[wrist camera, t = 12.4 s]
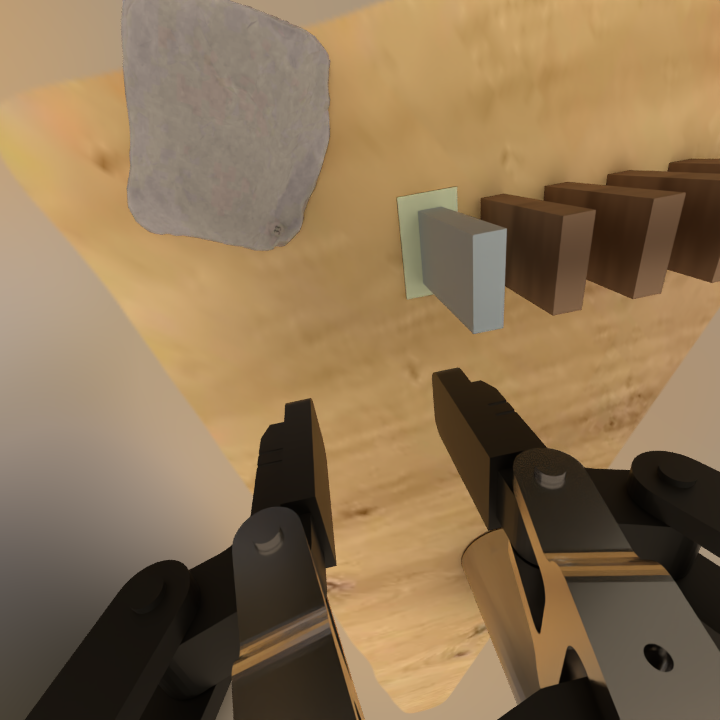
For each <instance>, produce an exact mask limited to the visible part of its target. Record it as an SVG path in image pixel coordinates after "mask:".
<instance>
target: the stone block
mask: <svg viewBox="0 0 720 720" xmlns="http://www.w3.org/2000/svg"><path fill="white" fill-rule="evenodd" d="M121 35H122V49H123V71H124V83H125V95H126V102H127V108H128V116H129V126H130V172H129V178H128V185H127V198H128V208H129V209H130V211H131V213H132V215H133V217H134V219H135V220H136V222H137V223H139V224H140V225H141V226H142V227H144V228H145V229H146V230H148V231H149V232H152V233H155V234H161V235H163V234H172V235H175V236H181V235H184V236H190V237H196V238H201V239H206V240H211V241H216V242H220V243H224V244H227V245H234V246H241V247H245V248H248V249H252V250H258V251H268V250H272V249H274V247H275V246H279V247H281V246H285V245H286V244H287V243H288V242H289V241H290V240H291V239H292V238H293V237H294V236H295V235H296V234H297V233H298V232H299V231H300V229H301V226H302V223H303V219H304V215H303V214H304V211H305V208H306V205H307V203H308V200H309V198H310V196H311V194H312V192H313V190H314V188H315V186H316V182H317V179H318V176H319V174H320V171H321V168H322V164H323V161H324V156H325V153H326V150H327V146H328V142H329V137H330V126H329V112H328V108H329V104H330V97H329V92H328V79H329V67H330V60H329V55H328V53H327V52H326V50H325V49H324V47H323V46H322V45H321V43H320V42H319V41H318V40H317V38H316V37H315V36H313V35H312V34H310V33H309V32H308V31H306V30H304V29H302V28H300V27H298V26H296V25H293V24H290V23H289V22H287V21H284V20H281V19H279V18H277V17H275V16H273V15H269V14H267V13H264V12H262V11H259V10H256V9H254V8H252V7H250V6H246V5H242V4H239V3H236V2H232V1H230V0H123V6H122V19H121Z"/></svg>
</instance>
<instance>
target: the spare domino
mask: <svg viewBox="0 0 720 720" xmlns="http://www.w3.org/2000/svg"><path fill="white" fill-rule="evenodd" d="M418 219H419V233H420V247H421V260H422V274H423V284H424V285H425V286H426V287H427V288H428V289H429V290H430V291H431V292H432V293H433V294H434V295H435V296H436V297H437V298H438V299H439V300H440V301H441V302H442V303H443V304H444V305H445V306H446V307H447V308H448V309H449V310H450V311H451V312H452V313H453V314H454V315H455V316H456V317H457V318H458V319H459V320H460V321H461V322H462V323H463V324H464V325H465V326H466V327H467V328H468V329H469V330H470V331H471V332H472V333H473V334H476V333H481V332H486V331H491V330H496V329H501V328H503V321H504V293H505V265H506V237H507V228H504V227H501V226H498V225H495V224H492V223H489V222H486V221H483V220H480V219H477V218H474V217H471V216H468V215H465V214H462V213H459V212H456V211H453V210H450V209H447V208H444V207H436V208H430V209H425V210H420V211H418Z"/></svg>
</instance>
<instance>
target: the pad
mask: <svg viewBox="0 0 720 720" xmlns="http://www.w3.org/2000/svg"><path fill="white" fill-rule="evenodd" d="M397 206H398V216H399V226H400V236H401V247H402V257H403V267H404V277H405V288H406V298H407V299H413V298H418V297H423V296H428V295H433V293H432V292H431V291H430V290H429V289H428V288H427V287H426V286H425V285H424V284H423V274H422V260H421V247H420V233H419V219H418V211H420V210H425V209H430V208H436V207H444V208H447V209H450V210H453V211H456V212H458V204H457V187H451V188H445V189H440V190H434V191H429V192H424V193H418V194H413V195H407V196H402V197H397Z"/></svg>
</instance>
